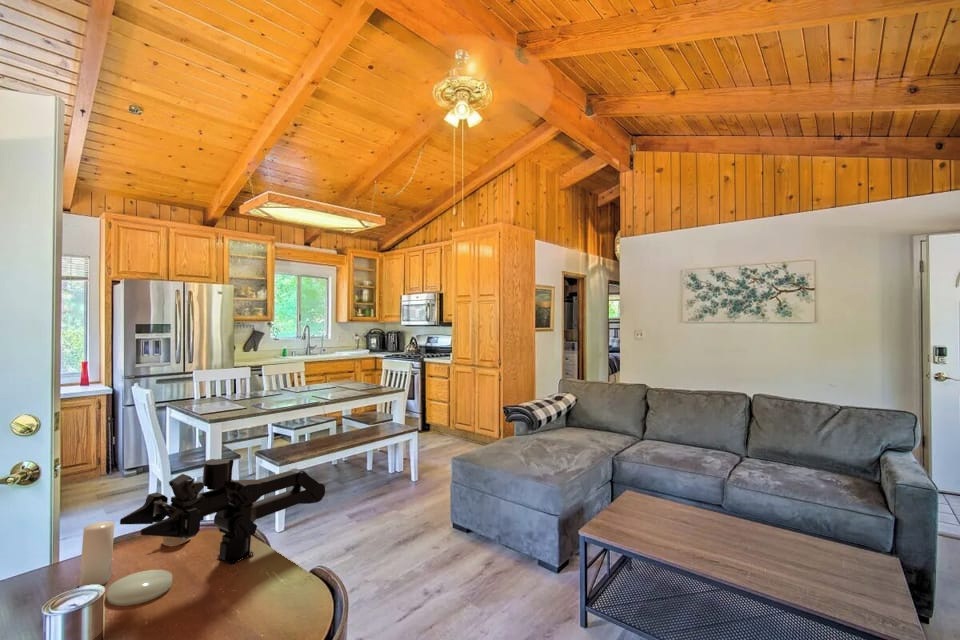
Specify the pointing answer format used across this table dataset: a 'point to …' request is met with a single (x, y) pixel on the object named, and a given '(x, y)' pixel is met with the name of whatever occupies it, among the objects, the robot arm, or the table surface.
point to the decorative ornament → (173, 541)
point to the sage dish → (139, 587)
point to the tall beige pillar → (97, 553)
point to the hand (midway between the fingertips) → (130, 527)
